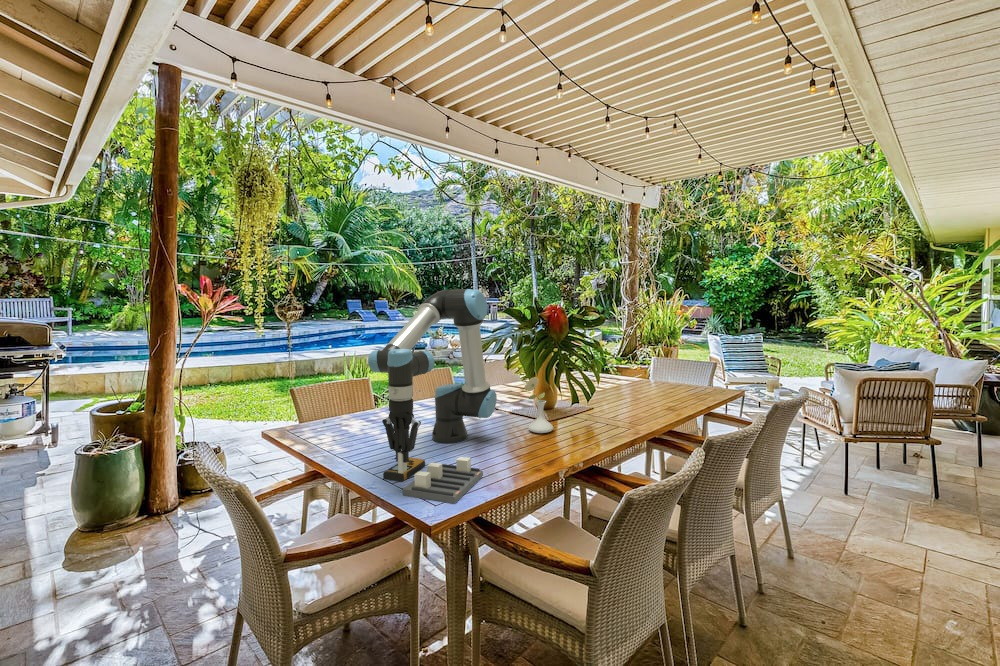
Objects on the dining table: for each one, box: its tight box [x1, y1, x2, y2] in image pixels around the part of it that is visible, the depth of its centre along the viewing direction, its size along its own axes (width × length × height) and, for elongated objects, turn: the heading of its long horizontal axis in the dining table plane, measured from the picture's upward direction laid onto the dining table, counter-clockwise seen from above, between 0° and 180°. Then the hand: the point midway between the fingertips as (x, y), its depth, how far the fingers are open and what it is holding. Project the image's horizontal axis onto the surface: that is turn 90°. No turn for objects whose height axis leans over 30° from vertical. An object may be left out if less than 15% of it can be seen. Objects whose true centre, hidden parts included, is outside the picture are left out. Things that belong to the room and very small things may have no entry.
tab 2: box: [426, 462, 443, 479], centre depth 158 cm, size 3×4×4 cm
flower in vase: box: [524, 376, 554, 434], centre depth 214 cm, size 13×11×25 cm
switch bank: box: [402, 463, 484, 505], centre depth 157 cm, size 22×18×3 cm
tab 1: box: [413, 470, 431, 489], centre depth 150 cm, size 3×4×4 cm
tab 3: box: [455, 456, 472, 473], centre depth 163 cm, size 3×4×4 cm
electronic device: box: [382, 457, 426, 483], centre depth 169 cm, size 8×16×3 cm, turn 159°
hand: (402, 471), depth 152 cm, fingers closed
